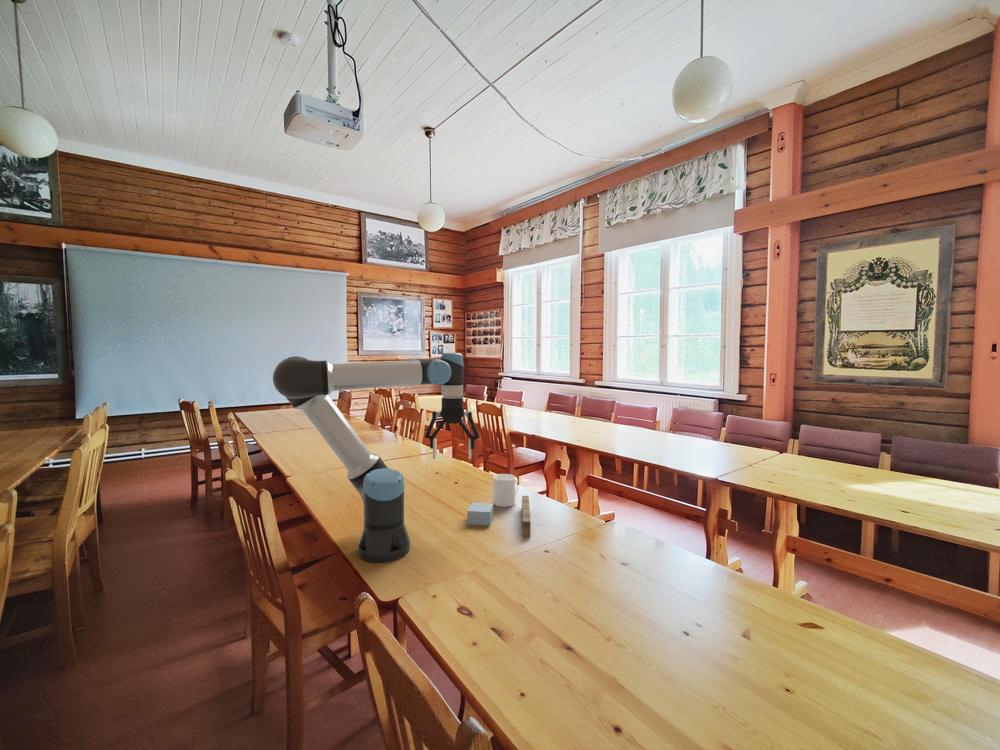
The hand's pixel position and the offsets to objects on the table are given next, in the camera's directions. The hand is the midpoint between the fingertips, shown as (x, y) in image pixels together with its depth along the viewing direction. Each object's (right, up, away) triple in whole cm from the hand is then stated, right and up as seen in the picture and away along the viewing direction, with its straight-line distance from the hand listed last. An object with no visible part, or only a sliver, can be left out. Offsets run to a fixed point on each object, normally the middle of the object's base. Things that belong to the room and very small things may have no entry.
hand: (452, 458), depth 150 cm
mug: (+20, -22, +18) cm, 35 cm away
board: (+26, -22, 0) cm, 34 cm away
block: (+10, -23, +1) cm, 25 cm away
